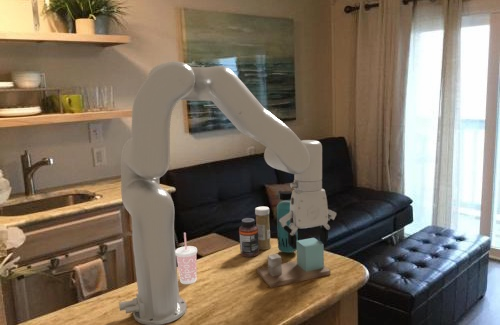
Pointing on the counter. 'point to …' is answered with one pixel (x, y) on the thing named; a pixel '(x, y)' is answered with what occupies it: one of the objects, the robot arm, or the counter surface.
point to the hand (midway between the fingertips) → (308, 244)
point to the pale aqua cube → (310, 254)
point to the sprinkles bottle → (263, 227)
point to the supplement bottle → (249, 238)
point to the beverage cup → (187, 263)
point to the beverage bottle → (282, 210)
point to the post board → (287, 272)
